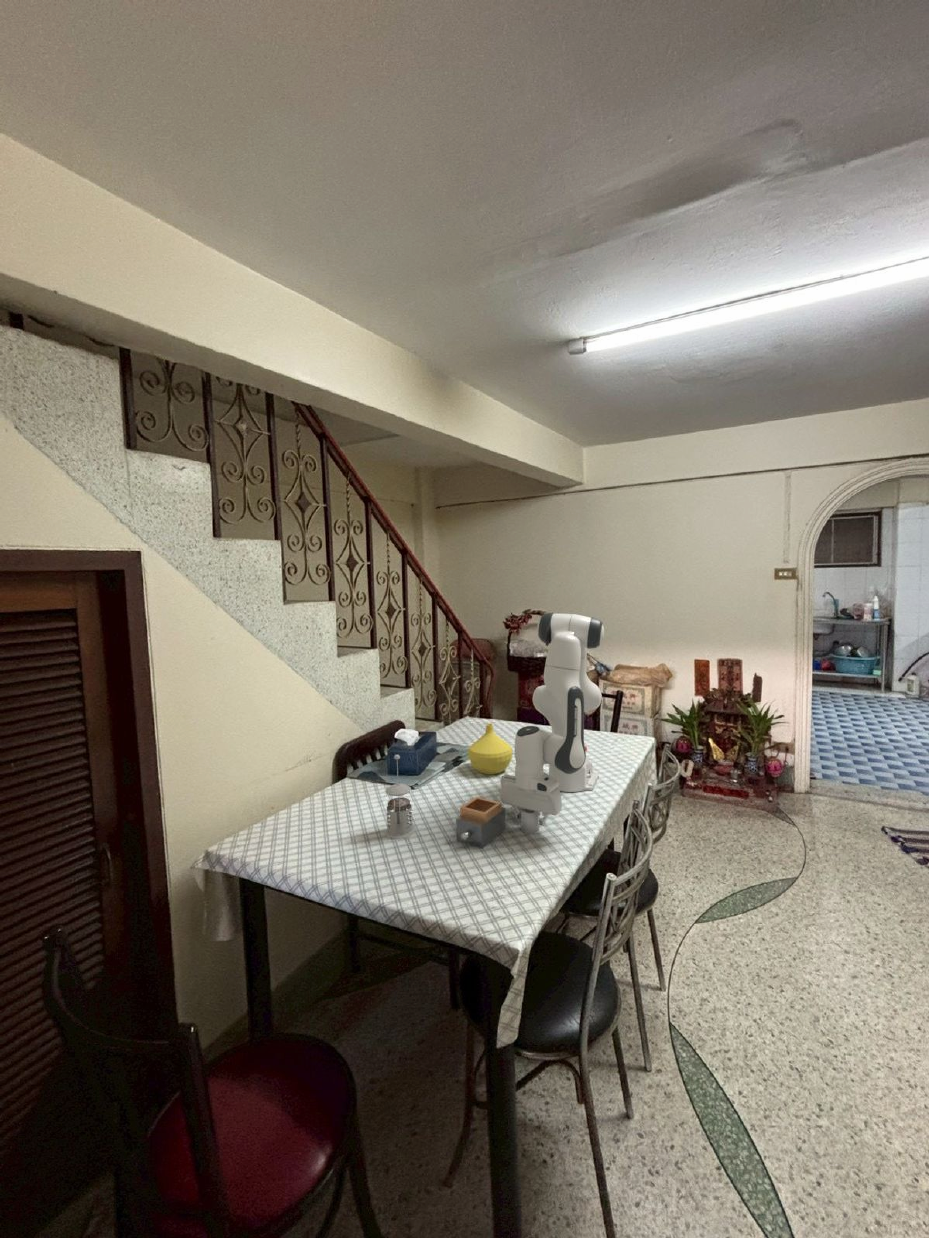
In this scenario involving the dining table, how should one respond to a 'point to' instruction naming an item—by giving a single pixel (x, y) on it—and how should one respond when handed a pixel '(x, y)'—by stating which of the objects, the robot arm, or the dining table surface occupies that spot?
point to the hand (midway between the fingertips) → (530, 821)
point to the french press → (399, 811)
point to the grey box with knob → (480, 822)
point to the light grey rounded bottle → (529, 821)
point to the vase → (490, 753)
